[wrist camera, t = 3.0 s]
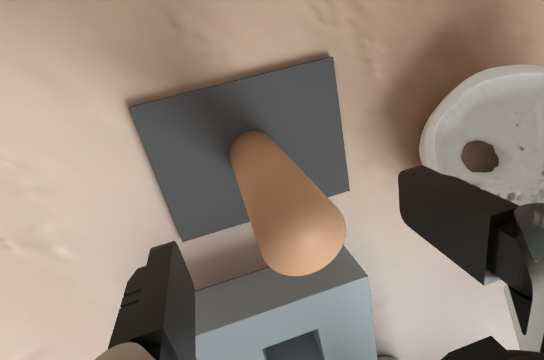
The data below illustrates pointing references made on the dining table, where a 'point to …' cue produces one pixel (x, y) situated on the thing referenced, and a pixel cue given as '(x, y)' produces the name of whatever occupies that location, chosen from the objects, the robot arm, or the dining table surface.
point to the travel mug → (385, 358)
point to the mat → (231, 124)
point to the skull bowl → (493, 131)
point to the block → (288, 315)
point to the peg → (285, 208)
